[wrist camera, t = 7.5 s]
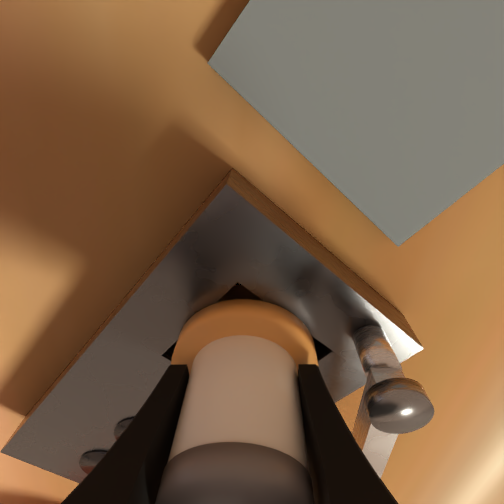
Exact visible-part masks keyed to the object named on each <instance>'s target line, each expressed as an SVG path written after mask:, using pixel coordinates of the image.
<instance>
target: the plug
mask: <svg viewBox="0 0 504 504" xmlns="http://www.w3.org/2000/svg"><path fill="white" fill-rule="evenodd" d="M171 364H187V366H188V371H189V380H188V384H187V388H186V392H185V396H184V400H183V404H182V408H181V412H180V416H179V420H178V424H177V428H176V431H175V435H174V439H173V443H172V447H171V451H170V455H169V459H168V463H167V465H166V466H165V468H164V471H163V475H162V479H161V483H160V487H159V490H158V494H157V498H156V502H155V504H315V502H314V494H313V486H312V479H311V476H310V474H309V468H308V459H307V451H306V442H305V434H304V425H303V417H302V408H301V400H300V391H299V383H298V364H316V365H317V366H318V361H317V356H316V350H315V345H314V341H313V338H312V336H311V333H310V331H309V330H308V328H307V327H306V326H305V324H304V323H303V322H302V321H301V320H300V319H299V318H297V317H296V316H295V315H294V314H292V313H291V312H289V311H288V310H286V309H284V308H282V307H280V306H277V305H274V304H271V303H268V302H265V301H263V300H262V299H260V298H259V297H258V296H256V295H255V294H254V293H252V292H251V291H249V290H248V289H247V288H245V287H244V286H242V285H238V286H233V287H232V288H231V289H230V290H229V291H228V292H227V293H226V294H225V295H224V296H223V297H222V298H221V299H220V300H218V301H217V302H216V303H215V304H212V305H210V306H208V307H205V308H203V309H202V310H200V311H198V312H197V313H195V314H194V315H193V316H192V317H191V318H190V319H189V320H188V321H187V322H186V323H185V325H184V326H183V328H182V330H181V332H180V335H179V337H178V340H177V343H176V346H175V349H174V352H173V355H172V360H171ZM318 367H319V366H318Z"/></svg>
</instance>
